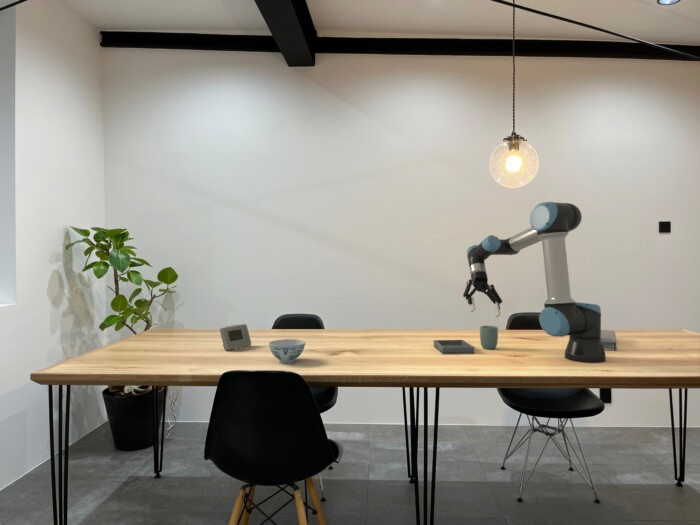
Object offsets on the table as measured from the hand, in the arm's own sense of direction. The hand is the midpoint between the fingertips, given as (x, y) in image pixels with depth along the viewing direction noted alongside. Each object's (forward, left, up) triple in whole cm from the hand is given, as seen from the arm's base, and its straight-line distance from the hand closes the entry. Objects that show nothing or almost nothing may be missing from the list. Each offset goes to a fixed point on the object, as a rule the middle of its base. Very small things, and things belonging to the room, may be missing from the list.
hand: (485, 313), depth 216 cm
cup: (+1, -2, -17) cm, 17 cm away
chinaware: (-17, +89, -17) cm, 92 cm away
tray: (0, +15, -16) cm, 22 cm away
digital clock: (+13, +116, -17) cm, 118 cm away
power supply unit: (+9, -56, -17) cm, 59 cm away
